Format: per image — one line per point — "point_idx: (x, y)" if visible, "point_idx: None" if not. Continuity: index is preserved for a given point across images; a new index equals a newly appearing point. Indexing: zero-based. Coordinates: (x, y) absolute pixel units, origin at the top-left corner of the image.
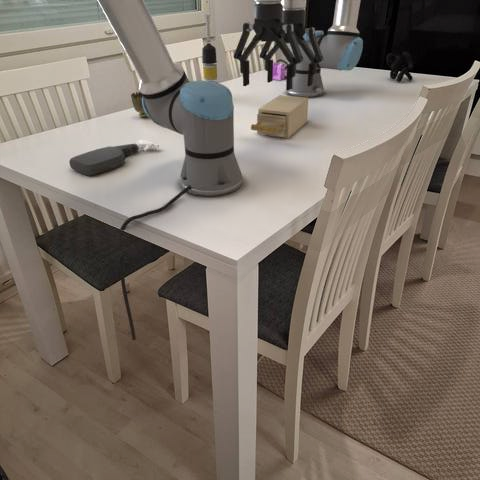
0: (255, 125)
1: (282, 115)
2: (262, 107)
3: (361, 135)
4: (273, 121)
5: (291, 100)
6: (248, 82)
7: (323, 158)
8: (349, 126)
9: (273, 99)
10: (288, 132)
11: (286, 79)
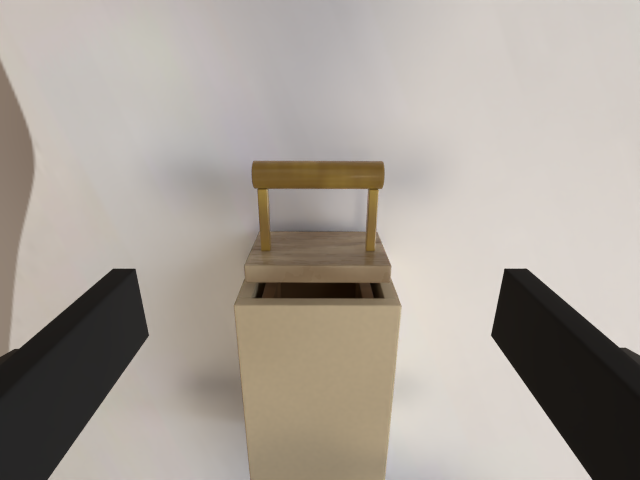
0: (362, 171)
1: None
2: (390, 333)
3: None
4: (303, 254)
5: (303, 460)
6: (501, 332)
7: (28, 94)
8: (119, 426)
9: (385, 450)
10: None
11: (84, 315)
